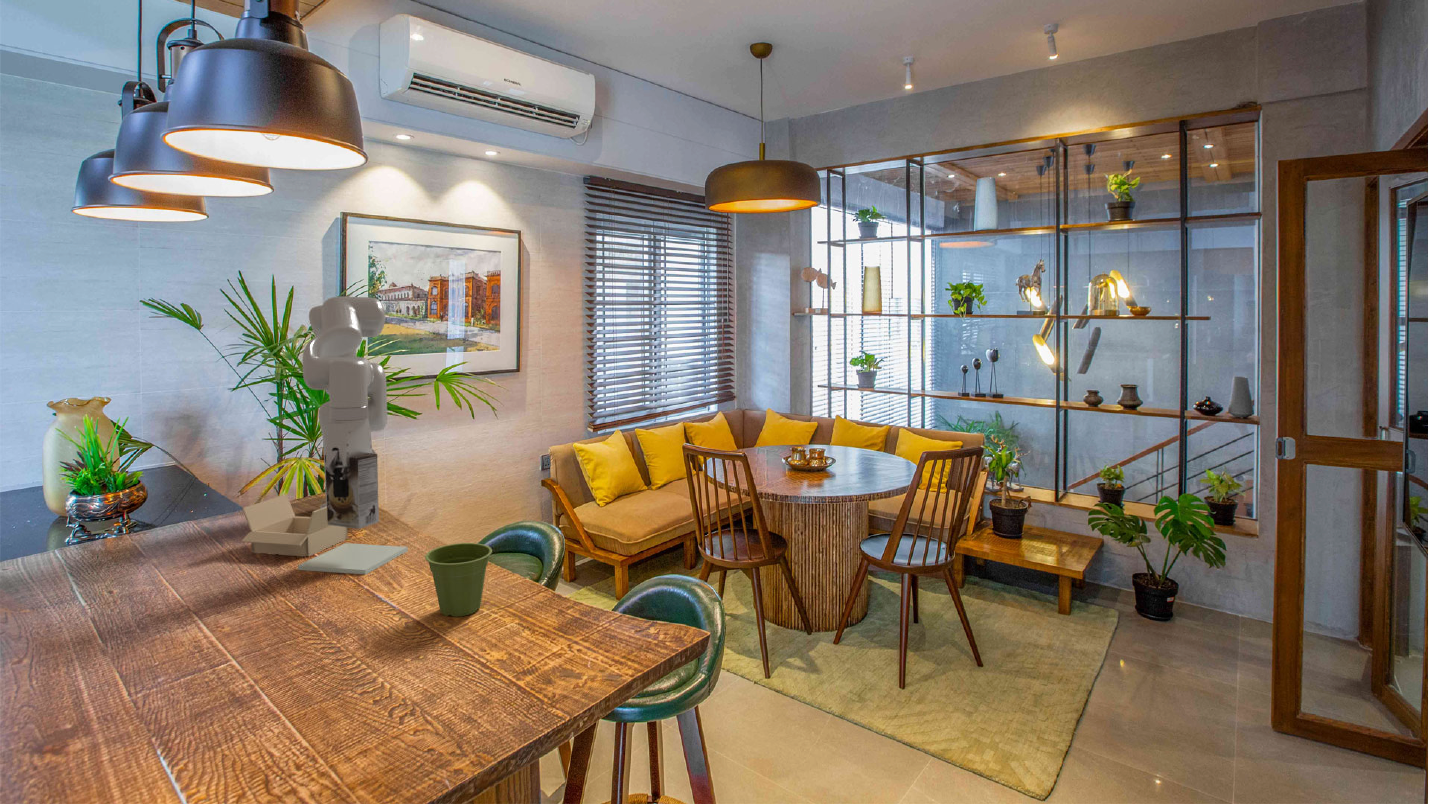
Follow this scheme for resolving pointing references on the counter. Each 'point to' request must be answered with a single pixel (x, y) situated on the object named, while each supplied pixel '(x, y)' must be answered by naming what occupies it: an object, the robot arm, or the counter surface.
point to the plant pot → (459, 576)
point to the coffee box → (355, 494)
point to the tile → (353, 558)
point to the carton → (289, 529)
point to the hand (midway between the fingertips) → (352, 492)
